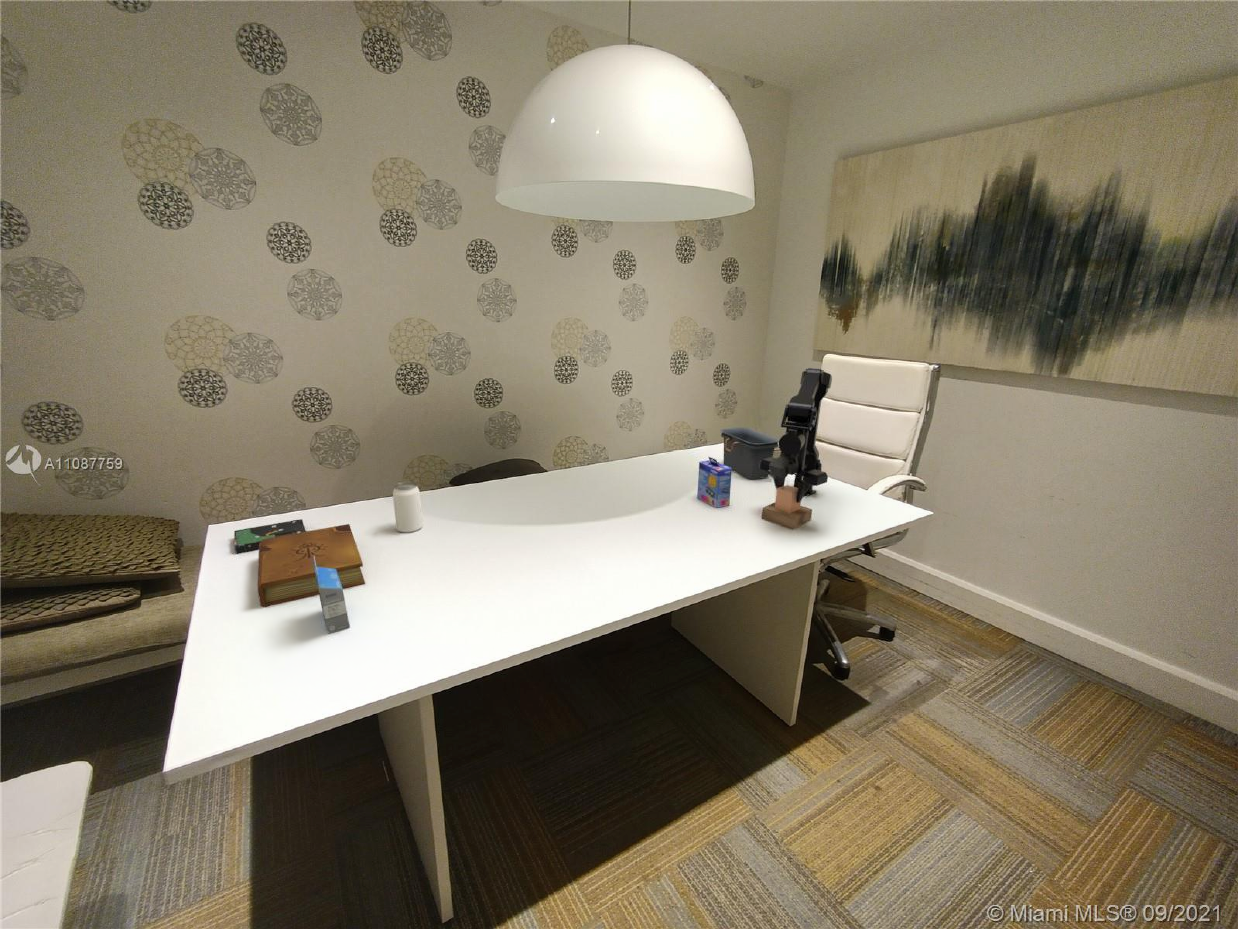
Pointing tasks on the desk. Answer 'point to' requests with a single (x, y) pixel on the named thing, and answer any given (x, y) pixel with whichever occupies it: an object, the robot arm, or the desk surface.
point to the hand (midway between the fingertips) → (788, 499)
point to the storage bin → (747, 451)
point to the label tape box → (331, 599)
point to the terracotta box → (787, 499)
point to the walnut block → (786, 516)
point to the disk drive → (264, 534)
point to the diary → (306, 563)
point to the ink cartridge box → (714, 483)
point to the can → (407, 507)
